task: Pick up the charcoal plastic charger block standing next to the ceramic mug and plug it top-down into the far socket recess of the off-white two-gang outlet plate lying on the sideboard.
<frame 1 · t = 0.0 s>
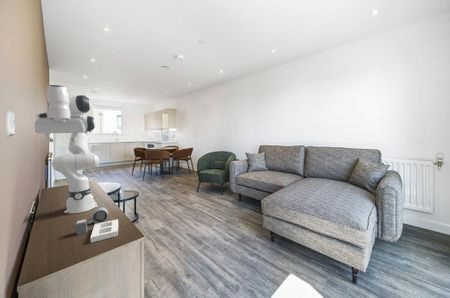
hand: (62, 141, 101), 48 cm above the sideboard, fingers open, 8 cm apart
ceramic mug: (98, 221, 111), on the sideboard
outlet plate: (106, 232, 97), on the sideboard
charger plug: (82, 232, 98), on the sideboard
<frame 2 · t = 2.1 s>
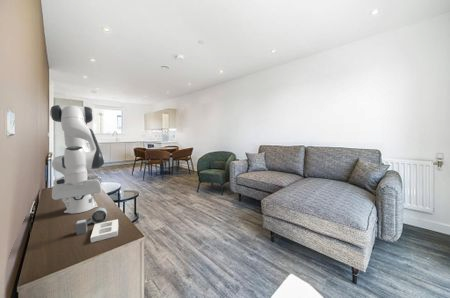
hand: (79, 204, 97), 15 cm above the sideboard, fingers open, 8 cm apart
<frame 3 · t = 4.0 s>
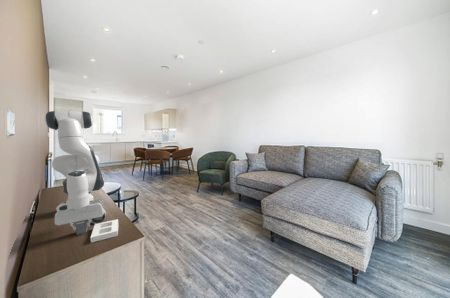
hand: (81, 228, 98), 2 cm above the sideboard, fingers closed on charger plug, 4 cm apart
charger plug: (82, 232, 98), on the sideboard, touching gripper
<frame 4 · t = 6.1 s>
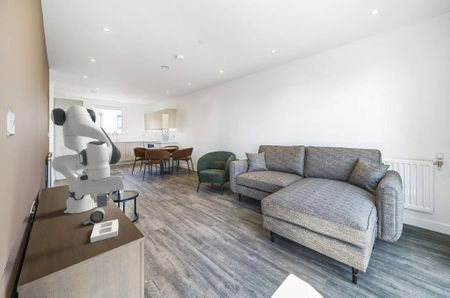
hand: (102, 201, 93), 17 cm above the sideboard, fingers closed on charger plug, 4 cm apart
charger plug: (102, 205, 93), point 15 cm above the sideboard, touching gripper
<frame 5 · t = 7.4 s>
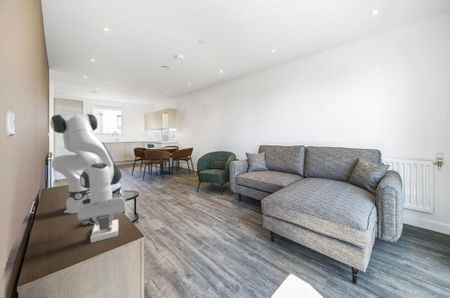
hand: (104, 223, 94), 6 cm above the sideboard, fingers closed on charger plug, 4 cm apart
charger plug: (104, 227, 94), point 4 cm above the sideboard, touching gripper
when the fingers open (4 cm above the sideboard, at t = 8.2 s): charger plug drops 2 cm, resting in outlet plate.
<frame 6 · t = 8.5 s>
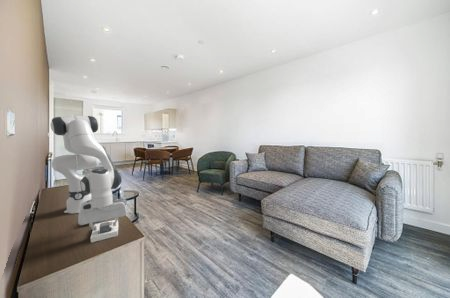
hand: (104, 228, 94), 4 cm above the sideboard, fingers open, 7 cm apart
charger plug: (105, 235, 94), resting in outlet plate
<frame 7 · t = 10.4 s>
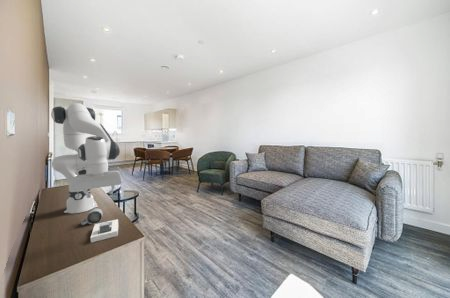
hand: (100, 195, 95), 20 cm above the sideboard, fingers open, 8 cm apart
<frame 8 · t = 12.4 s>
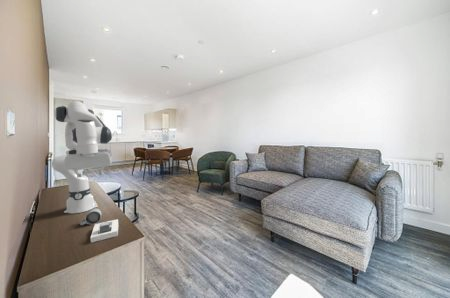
hand: (90, 175, 100), 29 cm above the sideboard, fingers open, 8 cm apart
at the end: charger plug 0.0 cm from the target spot on the outlet plate, point 0.0 cm above the outlet plate's base; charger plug tilted 0°; the gripper is holding nothing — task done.
